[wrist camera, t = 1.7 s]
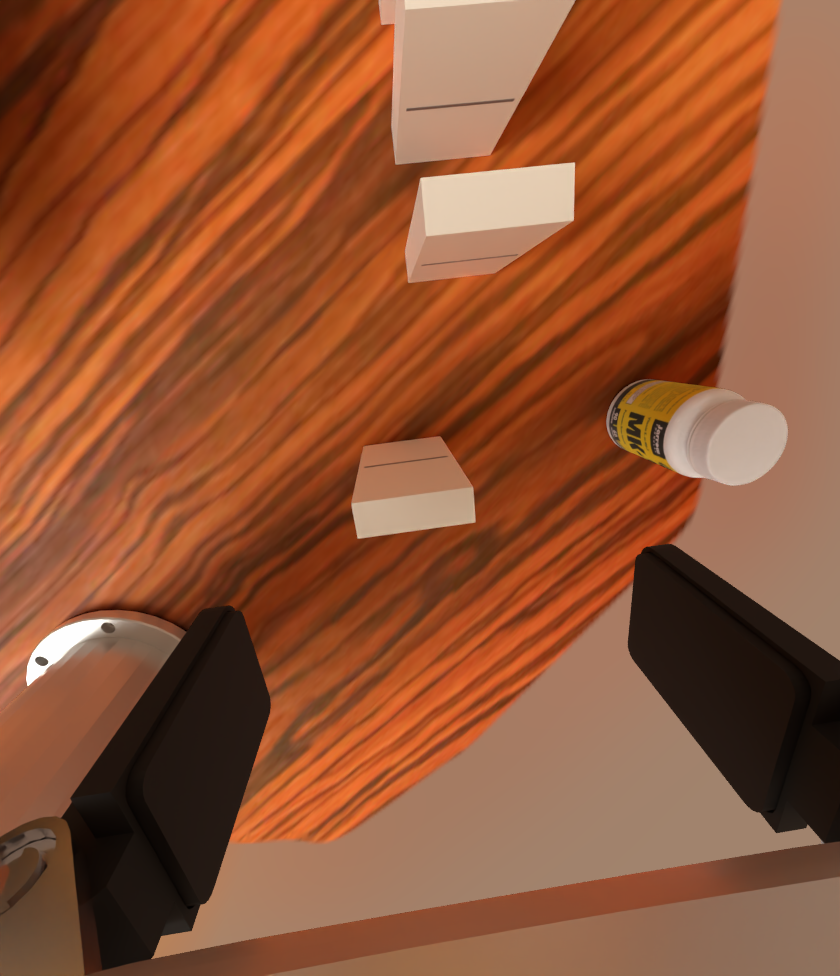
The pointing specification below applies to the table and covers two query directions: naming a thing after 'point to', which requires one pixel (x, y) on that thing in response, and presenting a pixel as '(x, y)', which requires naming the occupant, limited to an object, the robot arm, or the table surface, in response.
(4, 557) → the table surface
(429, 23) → the domino
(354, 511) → the domino
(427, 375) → the table surface
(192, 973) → the robot arm
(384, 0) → the domino
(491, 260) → the domino
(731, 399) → the supplement bottle
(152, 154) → the table surface
